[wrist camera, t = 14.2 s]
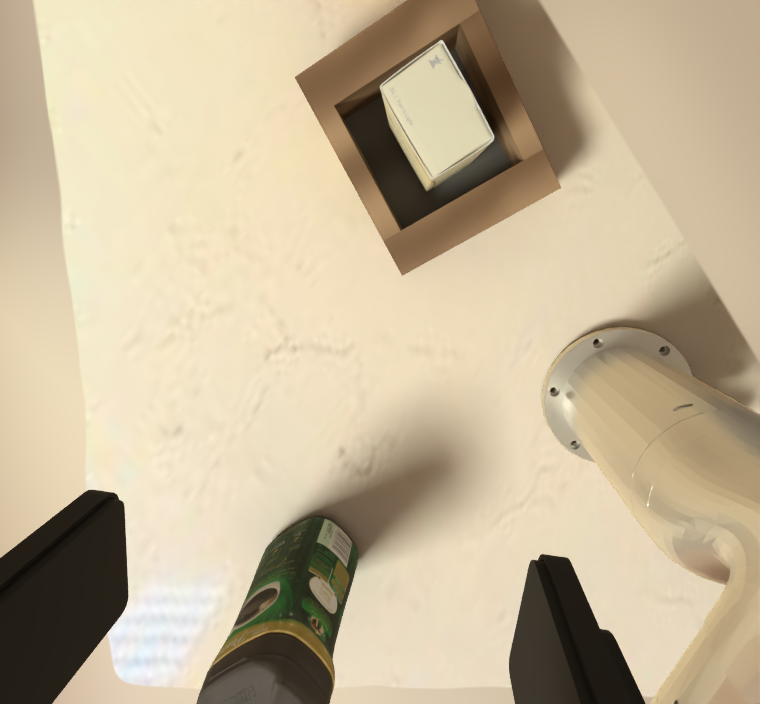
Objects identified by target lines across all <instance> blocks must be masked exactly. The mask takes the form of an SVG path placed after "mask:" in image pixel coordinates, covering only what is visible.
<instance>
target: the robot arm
mask: <svg viewBox="0 0 760 704" xmlns="http://www.w3.org/2000/svg"><path fill="white" fill-rule="evenodd" d="M595 339H597V343H595V344H593V342H594V340H595ZM661 347H662V350H661V351H659V350H660V348H661ZM553 387H555V389H554V390H553V391H550V389H551V388H553ZM542 407H543V413H544V417H545V419H546V422H547V424H548V427H549V428H550V430H551V431H552V433H553V435H554V436H555V438H556V439H557V440H558V441H559V442H560V444H561V445H562V446H563V447H565V448H566V449H567V450H568V451H569V452H571V453H573V454H575V455H576V456H578V457H580V458H582V459H585V460H588V461H591V462H594V463H596V464H597V466H598V467H599V468H600V470H601V471H602V472H603V474H604V475H605V477H606V478H607V479H608V481H609V482H610V484H611V485H612V486H613V488H614V489H615V490H616V492H617V493H618V495H619V496H620V497H621V499H622V500H623V501H624V503H625V504H626V506H627V507H628V508H629V510H630V511H631V512H632V514H633V515H634V517H635V518H636V519H637V521H638V522H639V523H640V525H641V526H642V528H643V529H644V530H645V532H646V533H647V534H648V536H649V537H650V538H651V540H652V541H653V542H654V543H655V545H656V546H657V547H658V548H659V549H660V550H661V551H662V552H663V553H664V554H665V555H666V556H667V557H669V558H670V559H671V560H672V561H674V562H675V563H676V564H678V565H679V566H681V567H683V568H684V569H686V570H688V571H689V572H691V573H693V574H695V575H697V576H700V577H702V578H705V579H708V580H711V581H714V582H717V583H720V584H724V585H726V587H725V589H724V591H723V592H722V594H721V596H720V598H719V599H718V601H717V602H716V604H715V605H714V607H713V608H712V610H711V611H710V612H709V614H708V616H707V617H706V619H705V624H704V625H703V627H702V628H701V630H700V631H699V632H698V634H697V635H696V637H695V638H694V640H693V641H692V643H691V644H690V645H689V647H688V648H687V650H686V651H685V653H684V654H683V656H682V657H681V658H680V660H679V661H678V663H677V664H676V666H675V667H674V669H673V670H672V672H671V673H670V674H669V676H668V677H667V679H666V680H665V682H664V683H663V685H662V686H661V688H660V689H659V691H658V692H657V694H656V695H655V697H654V698H653V699H652V701H651V703H650V704H760V414H759V413H757V412H755V411H753V410H751V409H750V408H748V407H746V406H744V405H743V404H741V403H739V402H737V401H735V399H734V398H733V397H728V396H726V395H725V394H723V393H721V392H719V391H717V390H716V389H714V388H712V387H710V386H709V385H707V384H705V383H703V382H701V381H700V380H698V379H696V378H694V377H693V375H692V372H691V369H690V366H689V365H688V363H687V361H686V360H685V358H684V356H683V355H682V354H681V353H680V352H679V351H678V349H677V348H676V347H675V346H674V345H672V344H671V343H669V342H668V341H666V340H665V339H664V338H662V337H660V336H658V335H656V334H654V333H651V332H648V331H645V330H642V329H638V328H630V327H614V328H607V329H603V330H599V331H595V332H593V333H590V334H588V335H586V336H583V337H581V338H580V339H578V340H577V341H575V342H574V343H572V344H571V345H569V346H568V347H567V348H566V349H565V350H564V351H563V352H562V353H561V354H560V355H559V356H558V358H557V359H556V360H555V362H554V363H553V364H552V366H551V368H550V370H549V372H548V374H547V376H546V379H545V383H544V386H543V390H542ZM573 441H575V442H574V443H571V442H573ZM127 601H128V577H127V555H126V533H125V510H124V503H123V502H122V501H121V500H119V498H118V496H117V494H115V493H111V492H104V491H97V490H88V491H86V492H85V493H83V494H82V495H81V496H79V497H78V498H77V499H76V500H74V501H73V502H72V503H71V504H69V505H68V506H67V507H65V508H64V509H63V510H61V511H60V512H59V513H58V514H56V515H55V516H54V517H52V518H51V519H50V520H49V521H47V522H46V523H45V524H44V525H42V526H41V527H40V528H38V529H37V530H36V531H35V532H33V533H32V534H31V535H29V536H28V537H27V538H26V539H24V540H23V541H22V542H21V543H19V544H18V545H17V546H16V547H14V548H13V549H12V550H10V551H9V552H8V553H6V554H5V555H4V556H3V557H1V558H0V704H52V703H53V702H54V700H55V699H56V698H57V696H58V695H59V694H60V693H61V691H62V690H63V689H64V688H65V686H66V685H67V684H68V682H69V681H70V680H71V679H72V677H73V676H74V675H75V673H76V672H77V671H78V670H79V668H80V667H81V666H82V665H83V663H84V662H85V661H86V659H87V658H88V657H89V656H90V654H91V653H92V652H93V650H94V649H95V648H96V647H97V645H98V644H99V643H100V641H101V640H102V639H103V638H104V636H105V635H106V634H107V632H108V631H109V630H110V629H111V627H112V626H113V625H114V624H115V622H116V621H117V620H118V618H119V617H120V616H121V614H122V613H123V611H124V609H125V607H126V605H127ZM509 673H510V679H511V684H512V690H513V695H514V700H515V704H645V702H644V700H643V697H642V695H641V693H640V691H639V689H638V687H637V684H636V682H635V680H634V678H633V676H632V674H631V671H630V669H629V667H628V665H627V663H626V661H625V658H624V656H623V654H622V652H621V650H620V648H619V646H618V643H617V641H616V639H615V638H614V636H613V634H612V633H611V632H609V631H608V630H602V629H600V628H599V626H598V623H597V621H596V619H595V617H594V614H593V612H592V610H591V607H590V605H589V603H588V601H587V598H586V596H585V594H584V591H583V589H582V587H581V584H580V582H579V580H578V578H577V575H576V573H575V571H574V568H573V566H572V564H571V562H570V560H569V559H568V558H565V557H558V556H551V555H544V554H542V555H540V557H539V559H538V561H537V560H531V562H530V564H529V568H528V573H527V578H526V582H525V587H524V592H523V596H522V601H521V606H520V610H519V615H518V620H517V624H516V629H515V634H514V639H513V643H512V648H511V653H510V658H509Z"/></svg>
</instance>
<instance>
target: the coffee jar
mask: <svg viewBox="0 0 760 704" xmlns="http://www.w3.org/2000/svg"><path fill="white" fill-rule="evenodd" d="M357 561H358V554H357V550H356V548H355V546H354V544H353V542H352V541H351V539H350V538H349V536H348V535H347V534H346V532H345V531H344V530H343V529H342V528H341V527H340V526H338V525H337V524H336V523H334V522H333V521H331V520H329V519H327V518H324V517H311V518H308V519H306V520H304V521H302V522H300V523H298V524H296V525H294V526H292V527H291V528H289V529H288V530H286V531H285V532H283V533H282V534H281V535H279V536H278V537H277V538H276V539H274V540H273V541H272V542H271V543H270V544H269V545H268V546H267V548H266V550H265V552H264V554H263V556H262V559H261V561H260V563H259V566H258V569H257V571H256V574H255V576H254V579H253V582H252V584H251V587H250V589H249V592H248V594H247V596H246V599H245V601H244V603H243V606H242V608H241V611H240V613H239V615H238V618H237V620H236V622H235V624H234V626H233V628H232V630H231V633H230V634H229V636H228V638H227V640H226V642H225V643H224V645H223V647H222V648H221V650H220V652H219V653H218V655H217V657H216V658H215V660H214V662H213V663H212V665H211V667H210V669H209V671H208V673H207V675H206V678H205V681H204V683H203V686H202V689H201V691H200V694H199V697H198V700H197V704H329V703H330V699H331V695H332V692H333V688H334V681H335V671H334V665H333V660H332V658H333V652H334V647H335V642H336V638H337V635H338V631H339V627H340V623H341V619H342V616H343V612H344V608H345V605H346V602H347V598H348V595H349V592H350V588H351V585H352V582H353V578H354V574H355V570H356V566H357Z"/></svg>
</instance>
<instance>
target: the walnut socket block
mask: <svg viewBox="0 0 760 704" xmlns="http://www.w3.org/2000/svg"><path fill="white" fill-rule="evenodd" d="M440 40H443V41H444V43H445V45H446V47H447V49H448V50H449V52H450V54H451V56H452V57H453V59H454V61H455V63H456V64H457V66H458V68H459V70H460V71H461V73H462V75H463V77H464V79H465V81H466V82H467V84H468V86H469V88H470V89H471V91H472V93H473V95H474V97H475V99H476V101H477V103H478V105H479V107H480V109H481V111H482V113H483V115H484V116H485V118H486V120H487V122H488V124H489V126H490V128H491V130H492V132H493V134H494V140H493V142H492V143H490V144H489V145H488V146H487V147H486V148H485V149H484V151H483V152H482V153H481V154H480V155H479V156H478V157H477V158H476V159H475V160H474V161H473V162H472V163H471V164H470V165H469V166H467V167H466V168H464V169H463V170H461V171H460V172H458V173H457V174H455V175H454V176H452V177H451V178H449V179H447V180H446V181H444V182H443V183H441V184H439V185H438V186H436V187H435V188H433V189H431V190H430V191H428V192H426V190H425V189H424V187H423V185H422V184H421V182H420V180H419V178H418V177H417V175H416V173H415V172H414V170H413V168H412V166H411V165H410V163H409V161H408V160H407V158H406V156H405V154H404V152H403V151H402V149H401V147H400V145H399V143H398V142H397V140H396V138H395V136H394V134H393V132H392V131H391V129H390V127H389V122H388V118H387V113H386V109H385V105H384V101H383V97H382V93H381V90H380V85H381V84H382V83H383V82H384V81H386V80H387V79H388V78H389V77H391V76H392V75H393V74H394V73H396V72H397V71H398V70H400V69H401V68H402V67H404V66H405V65H407V64H408V63H409V62H411V61H412V60H413V59H415V58H416V57H417V56H419V55H420V54H422V53H423V52H425V51H426V50H428V49H429V48H430V47H432V46H433V45H435V44H436V43H438V42H439V41H440ZM295 79H296V80H297V82H298V84H299V86H300V88H301V90H302V91H303V93H304V95H305V97H306V99H307V101H308V103H309V104H310V106H311V108H312V110H313V112H314V114H315V115H316V117H317V119H318V121H319V123H320V125H321V127H322V128H323V130H324V132H325V134H326V136H327V138H328V139H329V141H330V143H331V145H332V147H333V149H334V151H335V152H336V154H337V156H338V158H339V160H340V162H341V163H342V165H343V167H344V169H345V171H346V173H347V175H348V176H349V178H350V180H351V182H352V184H353V186H354V187H355V189H356V191H357V193H358V195H359V197H360V199H361V200H362V202H363V204H364V206H365V208H366V210H367V211H368V213H369V215H370V217H371V219H372V221H373V223H374V224H375V226H376V228H377V230H378V232H379V234H380V235H381V237H382V239H383V241H384V243H385V245H386V247H387V248H388V250H389V252H390V254H391V256H392V258H393V259H394V261H395V263H396V265H397V267H398V269H399V271H400V272H401V274H402V275H404V274H406V273H408V272H410V271H411V270H413V269H415V268H417V267H419V266H421V265H422V264H424V263H426V262H428V261H430V260H431V259H433V258H435V257H437V256H439V255H440V254H442V253H444V252H446V251H448V250H449V249H451V248H453V247H455V246H457V245H459V244H460V243H462V242H464V241H466V240H468V239H469V238H471V237H473V236H475V235H477V234H478V233H480V232H482V231H484V230H486V229H488V228H489V227H491V226H493V225H495V224H497V223H498V222H500V221H502V220H504V219H506V218H507V217H509V216H511V215H513V214H515V213H516V212H518V211H520V210H522V209H524V208H526V207H527V206H529V205H531V204H533V203H535V202H536V201H538V200H540V199H542V198H544V197H545V196H547V195H549V194H551V193H553V192H554V191H556V190H558V189H560V188H561V186H560V184H559V182H558V180H557V178H556V176H555V173H554V171H553V169H552V167H551V165H550V162H549V160H548V158H547V156H546V154H545V151H544V149H543V147H542V145H541V143H540V141H539V138H538V136H537V134H536V132H535V130H534V127H533V125H532V123H531V121H530V119H529V117H528V114H527V112H526V110H525V108H524V106H523V103H522V101H521V99H520V97H519V95H518V92H517V90H516V88H515V86H514V84H513V82H512V79H511V77H510V75H509V73H508V71H507V68H506V66H505V64H504V62H503V60H502V58H501V55H500V53H499V51H498V49H497V47H496V44H495V42H494V40H493V38H492V36H491V33H490V31H489V29H488V27H487V25H486V23H485V20H484V18H483V16H482V14H481V12H480V9H479V7H478V5H477V3H476V1H475V0H408V1H406V2H405V3H403V4H402V5H400V6H399V7H397V8H396V9H394V10H393V11H391V12H390V13H388V14H387V15H386V16H384V17H383V18H381V19H380V20H378V21H377V22H375V23H374V24H372V25H371V26H369V27H368V28H366V29H365V30H363V31H362V32H361V33H359V34H358V35H356V36H355V37H353V38H352V39H350V40H349V41H347V42H346V43H344V44H343V45H341V46H340V47H339V48H337V49H336V50H334V51H333V52H331V53H330V54H328V55H327V56H325V57H324V58H322V59H321V60H319V61H318V62H316V63H315V64H314V65H312V66H311V67H309V68H308V69H306V70H305V71H303V72H302V73H300V74H299V75H297V76H296V77H295Z"/></svg>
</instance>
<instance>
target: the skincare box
mask: <svg viewBox="0 0 760 704" xmlns="http://www.w3.org/2000/svg"><path fill="white" fill-rule="evenodd" d="M380 90H381V93H382V97H383V101H384V105H385V109H386V113H387V118H388V122H389V127H390V129H391V131H392V132H393V134H394V136H395V138H396V140H397V142H398V143H399V145H400V147H401V149H402V151H403V152H404V154H405V156H406V158H407V160H408V161H409V163H410V165H411V166H412V168H413V170H414V172H415V173H416V175H417V177H418V178H419V180H420V182H421V184H422V185H423V187H424V189H425V190H426V192H428V191H430V190H431V189H433V188H435V187H436V186H438V185H439V184H441V183H443V182H444V181H446V180H447V179H449V178H451V177H452V176H454V175H455V174H457V173H458V172H460V171H461V170H463V169H464V168H466V167H467V166H469V165H470V164H471V163H472V162H473V161H474V160H475V159H476V158H477V157H478V156H479V155H480V154H481V153H482V152H483V151H484V149H485V148H486V147H487V146H488V145H489V144H490V143H492V142H493V140H494V134H493V132H492V130H491V128H490V126H489V124H488V122H487V120H486V118H485V116H484V115H483V113H482V111H481V109H480V107H479V105H478V103H477V101H476V99H475V97H474V95H473V93H472V91H471V89H470V88H469V86H468V84H467V82H466V81H465V79H464V77H463V75H462V73H461V71H460V70H459V68H458V66H457V64H456V63H455V61H454V59H453V57H452V56H451V54H450V52H449V50H448V49H447V47H446V45H445V43H444V41H443V40H440V41H439V42H438V43H436V44H435V45H433V46H432V47H430V48H429V49H428V50H426V51H425V52H423V53H422V54H420V55H419V56H417V57H416V58H415V59H413V60H412V61H411V62H409V63H408V64H407V65H405V66H404V67H402V68H401V69H400V70H398V71H397V72H396V73H394V74H393V75H392V76H391V77H389V78H388V79H387V80H386V81H384V82H383V83H382V84H381V85H380Z"/></svg>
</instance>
